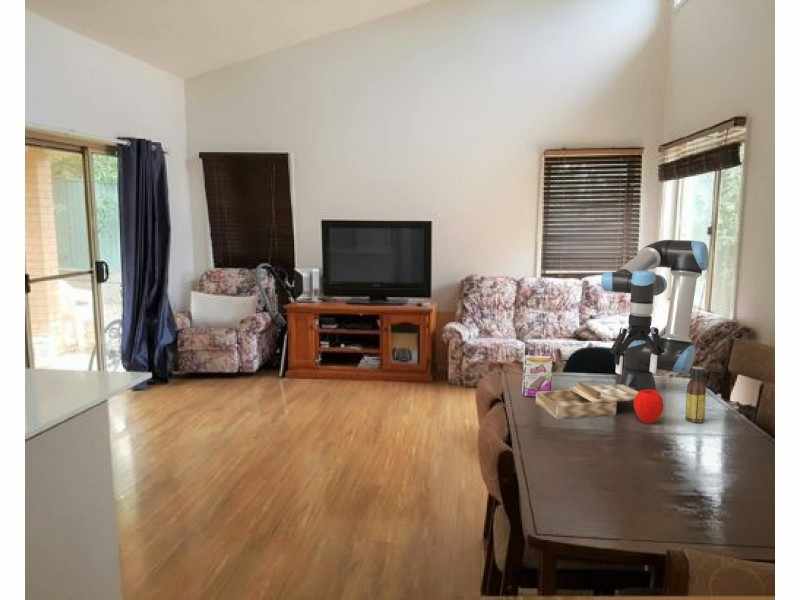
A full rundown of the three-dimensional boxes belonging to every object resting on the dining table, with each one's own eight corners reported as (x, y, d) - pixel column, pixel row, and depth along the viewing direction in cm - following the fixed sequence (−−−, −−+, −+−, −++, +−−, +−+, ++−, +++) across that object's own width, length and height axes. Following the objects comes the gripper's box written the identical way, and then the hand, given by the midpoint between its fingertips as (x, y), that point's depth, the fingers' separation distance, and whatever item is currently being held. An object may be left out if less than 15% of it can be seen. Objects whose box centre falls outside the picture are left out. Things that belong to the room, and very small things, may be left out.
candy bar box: (522, 397, 232) (524, 357, 230) (521, 393, 237) (523, 354, 235) (551, 398, 231) (553, 359, 229) (549, 395, 236) (551, 356, 234)
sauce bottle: (702, 419, 211) (707, 366, 208) (705, 424, 205) (710, 370, 202) (682, 416, 213) (687, 364, 210) (685, 422, 207) (690, 368, 204)
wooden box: (590, 400, 230) (591, 388, 229) (615, 415, 213) (616, 402, 212) (535, 404, 224) (536, 391, 223) (557, 418, 208) (557, 405, 207)
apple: (639, 415, 213) (642, 383, 212) (666, 422, 207) (669, 389, 205) (627, 421, 207) (630, 388, 205) (655, 428, 200) (658, 395, 198)
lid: (623, 386, 232) (623, 378, 232) (650, 399, 216) (651, 391, 215) (569, 389, 226) (569, 381, 226) (593, 402, 210) (593, 394, 210)
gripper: (665, 312, 209) (660, 369, 212) (602, 313, 205) (598, 371, 208) (678, 315, 202) (673, 374, 205) (614, 316, 197) (609, 376, 200)
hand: (635, 372), depth 206 cm, fingers open, 13 cm apart
